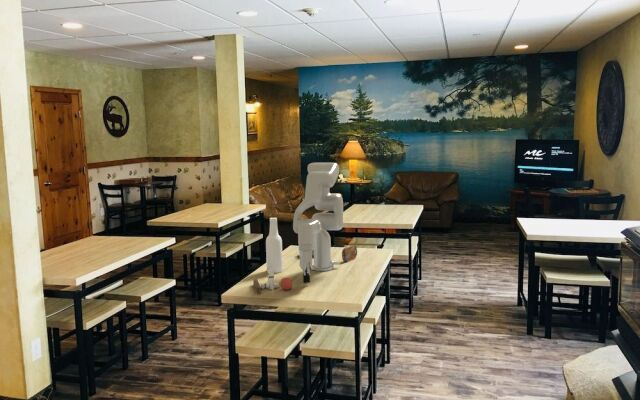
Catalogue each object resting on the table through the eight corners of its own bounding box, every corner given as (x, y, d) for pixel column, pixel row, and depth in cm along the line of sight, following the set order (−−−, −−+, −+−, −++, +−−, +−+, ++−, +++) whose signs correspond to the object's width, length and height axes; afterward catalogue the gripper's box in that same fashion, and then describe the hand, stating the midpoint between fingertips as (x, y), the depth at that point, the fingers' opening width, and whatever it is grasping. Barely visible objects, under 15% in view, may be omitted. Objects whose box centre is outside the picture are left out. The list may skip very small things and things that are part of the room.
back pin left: (274, 288, 264) (273, 271, 263) (274, 290, 262) (274, 273, 261) (268, 288, 264) (268, 272, 263) (269, 290, 261) (269, 273, 260)
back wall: (257, 284, 272) (257, 278, 271) (260, 293, 256) (260, 287, 256) (253, 284, 271) (253, 279, 271) (256, 294, 256) (256, 288, 256)
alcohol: (280, 273, 292) (278, 219, 288) (264, 273, 293) (263, 219, 289) (284, 269, 300) (283, 216, 296) (269, 269, 302) (267, 216, 298)
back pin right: (272, 285, 269) (272, 269, 268) (273, 287, 267) (272, 270, 266) (267, 286, 269) (267, 269, 268) (268, 287, 266) (267, 270, 265)
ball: (276, 282, 264) (286, 279, 267) (281, 293, 261) (291, 290, 265) (281, 276, 259) (291, 274, 263) (286, 287, 257) (296, 284, 261)
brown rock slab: (345, 263, 313) (345, 249, 312) (340, 262, 315) (340, 248, 314) (357, 257, 326) (357, 244, 325) (353, 257, 328) (353, 243, 326)
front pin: (278, 281, 267) (261, 283, 265) (278, 283, 264) (261, 285, 263) (278, 286, 267) (261, 287, 266) (278, 288, 265) (261, 289, 263)
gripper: (296, 244, 273) (296, 279, 276) (301, 250, 259) (302, 287, 261) (310, 243, 275) (311, 278, 277) (316, 249, 260) (317, 286, 263)
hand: (306, 282), depth 269 cm, fingers closed
